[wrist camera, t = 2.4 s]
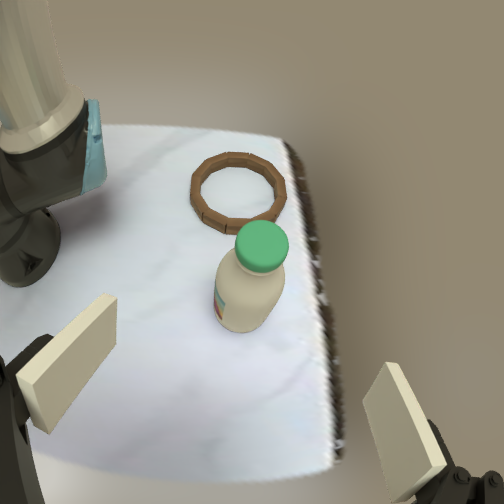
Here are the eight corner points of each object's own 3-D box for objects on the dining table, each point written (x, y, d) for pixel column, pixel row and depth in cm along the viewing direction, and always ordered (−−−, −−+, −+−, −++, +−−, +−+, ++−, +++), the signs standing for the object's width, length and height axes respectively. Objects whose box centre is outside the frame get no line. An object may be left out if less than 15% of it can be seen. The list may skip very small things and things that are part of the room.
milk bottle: (275, 298, 45) (319, 228, 27) (252, 343, 41) (285, 301, 23) (229, 273, 45) (244, 190, 28) (203, 317, 42) (199, 255, 24)
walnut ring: (188, 233, 47) (187, 225, 45) (194, 160, 55) (194, 150, 52) (287, 236, 50) (291, 228, 47) (278, 163, 57) (281, 155, 54)
